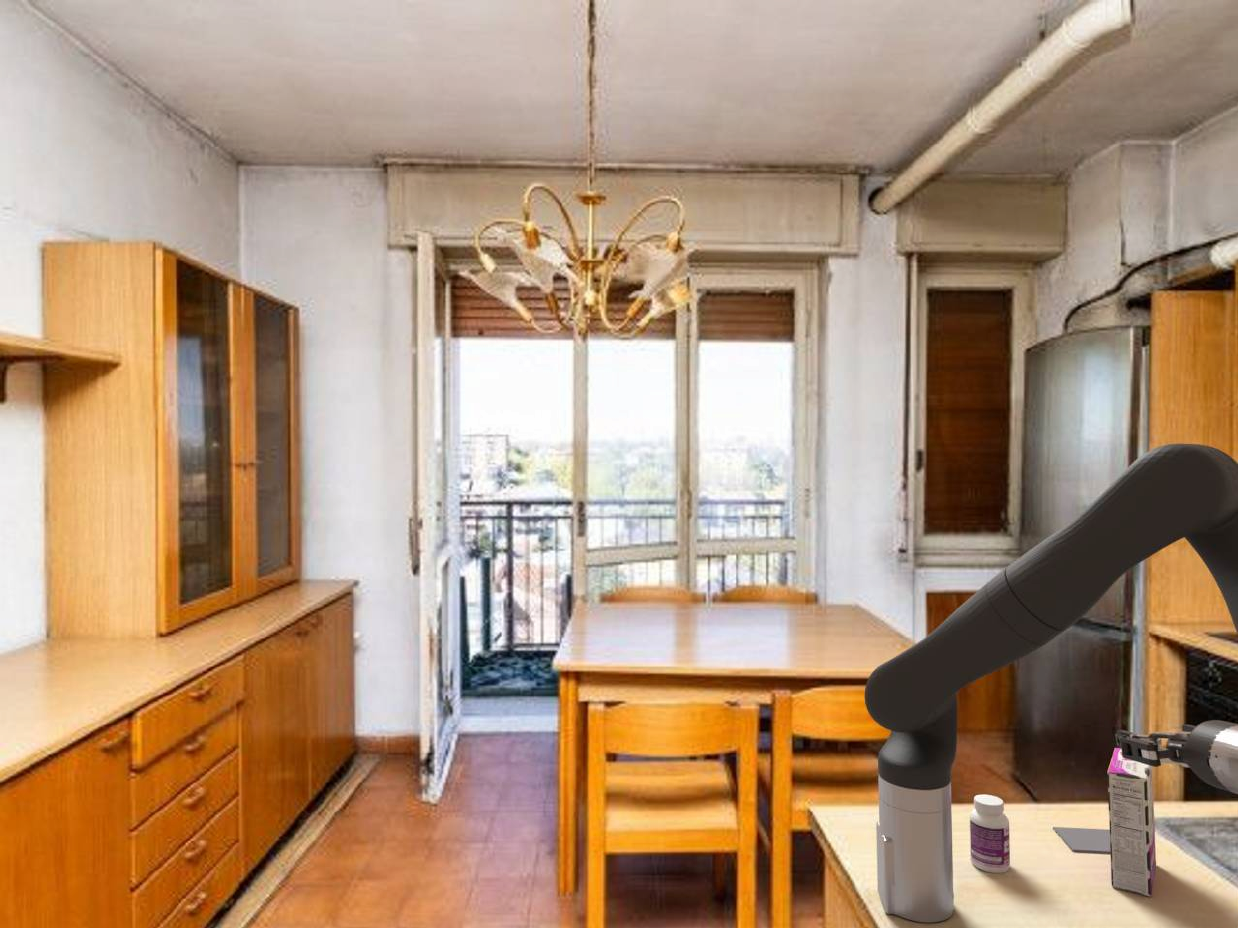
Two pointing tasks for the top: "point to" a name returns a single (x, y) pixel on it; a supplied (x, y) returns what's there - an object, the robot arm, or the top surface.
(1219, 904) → the top surface
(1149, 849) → the candy bar box
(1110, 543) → the robot arm
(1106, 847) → the mat
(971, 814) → the pill bottle
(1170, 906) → the top surface
